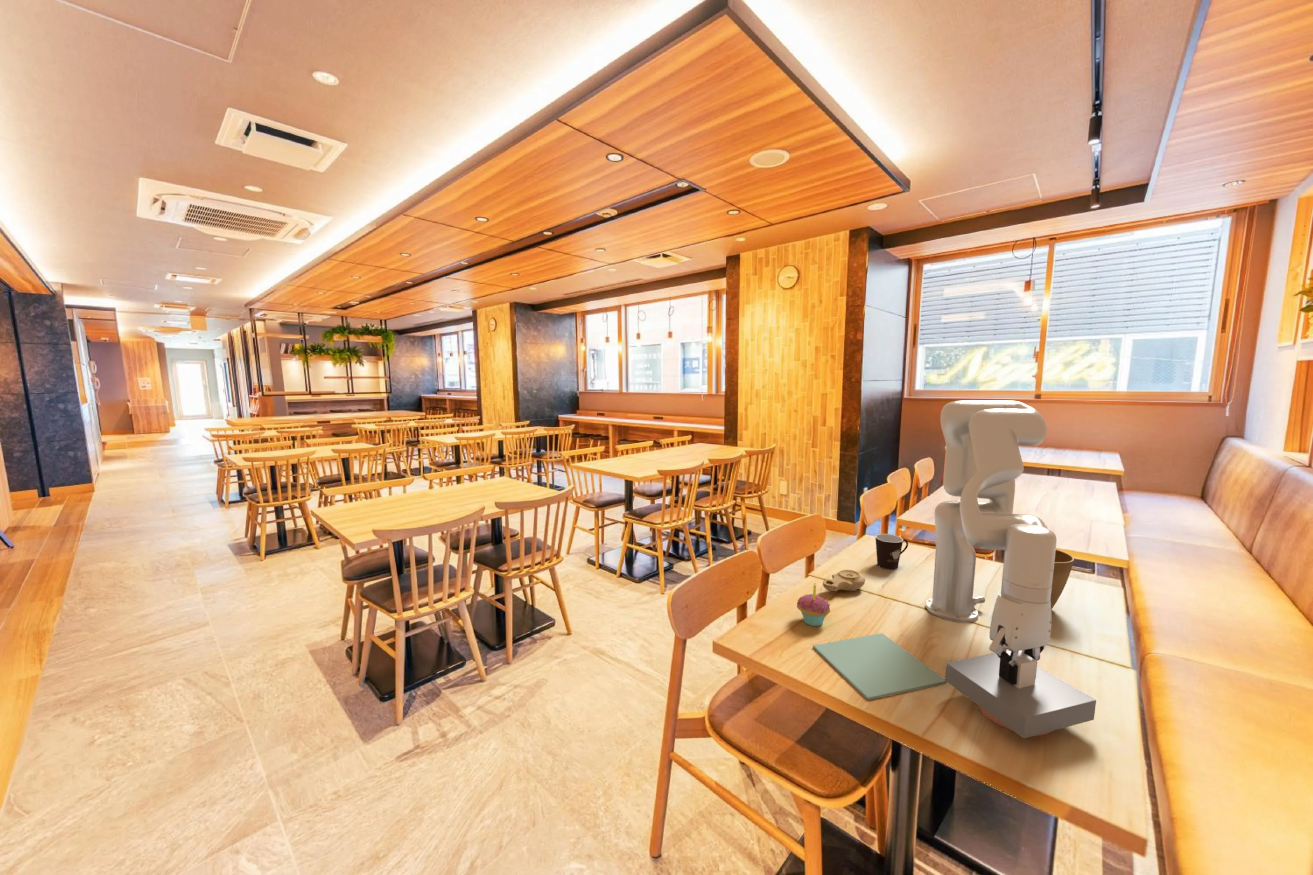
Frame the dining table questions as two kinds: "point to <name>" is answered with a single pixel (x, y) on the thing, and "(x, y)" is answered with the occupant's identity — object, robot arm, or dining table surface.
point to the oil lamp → (844, 581)
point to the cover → (1021, 694)
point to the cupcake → (813, 608)
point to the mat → (878, 666)
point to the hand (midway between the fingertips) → (1016, 677)
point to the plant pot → (1060, 574)
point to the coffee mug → (889, 550)
